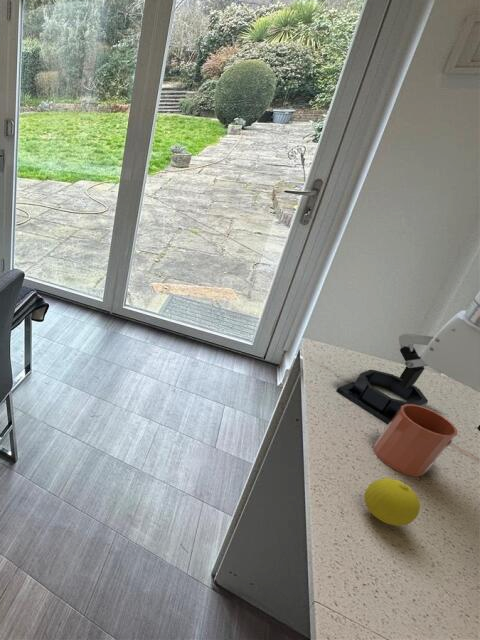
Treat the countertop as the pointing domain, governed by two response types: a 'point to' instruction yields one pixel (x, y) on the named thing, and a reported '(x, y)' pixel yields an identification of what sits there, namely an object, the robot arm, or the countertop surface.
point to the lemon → (392, 501)
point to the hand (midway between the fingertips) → (442, 405)
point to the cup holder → (381, 394)
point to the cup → (414, 439)
